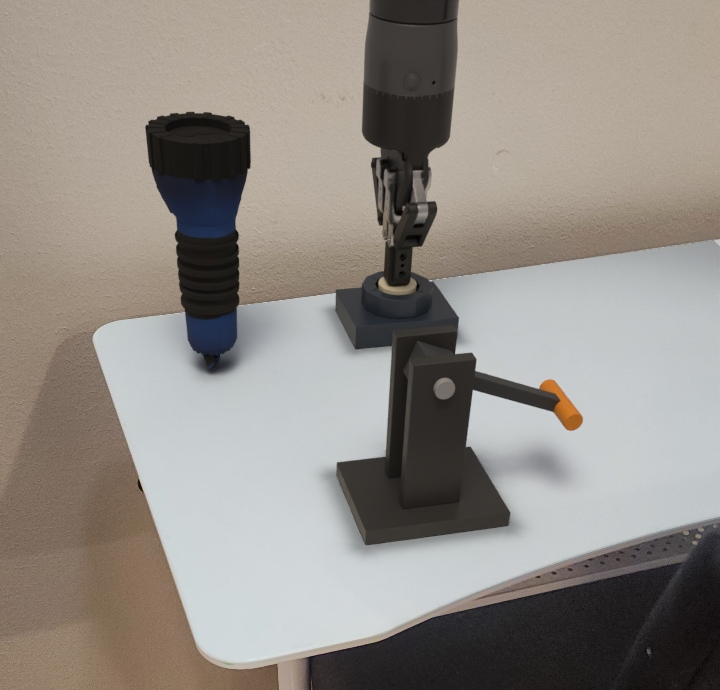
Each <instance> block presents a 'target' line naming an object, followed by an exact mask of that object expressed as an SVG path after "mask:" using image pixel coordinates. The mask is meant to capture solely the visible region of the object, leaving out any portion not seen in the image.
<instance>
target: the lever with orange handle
mask: <svg viewBox="0 0 720 690" xmlns="http://www.w3.org/2000/svg"><path fill="white" fill-rule="evenodd" d="M451 354H453V352H452V351H450V350H447V349H444V348H440V347H437V346H433V345H430V344H426V343H423V342H420V341H417V342H416V344H415V347H414V349H413V351H412V353H411V355H410V357H409V360H410V358H420V357H431V356H441V355H451ZM409 360H408V362H407V364H406V366H405V368H404V371H403V372H404V373H405V375H406V377H407V379H408V373H409ZM473 391H476V392H479V393H483V394H487V395H490V396H493V397H497V398H501V399H504V400H508V401H511V402H515V403H518V404H522V405H526V406H530V407H534V408H537V409H541V410H543V411H544V410H545V411H547V412H552V413H553V414H554V415H555V417H556V418H557V420H558V421H559V422H560V423H561V425H562V426H563V428H564V429H565V430H566V431H569V432H573V431H577V430H578V429H579V428H580V427H581V426H582V425H583V422H584V417H583V415H582V414H581V412H580V411H579V410H578V408H577V407H576V406H575V404H574V403H573V402H572V401H571V400H570V398H569V397H568V396H567V395H566V393H565V392H564V390H563V389H562V387H561V386H560V385H559V384H558V383H557V382H556V380H554V379H549V378H548V379H546V380H544V381H542V382H541V384H540V385H539V387H538V388H537V387H533V386H530V385H526V384H523V383H519V382H516V381H512V380H509V379H506V378H502V377H498V376H495V375H492V374H488V373H484V372H481V371H477V370H475V377H474V385H473Z"/></svg>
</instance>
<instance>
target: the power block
mask: <svg viewBox="0 0 720 690" xmlns="http://www.w3.org/2000/svg"><path fill="white" fill-rule="evenodd" d="M382 277H384V270H383V271H382V270H381V271H377V272H375V273H372V274H370V275H367V276H366V277H365V278H364V280H363V281H362V283H361V287H351V288H349V287H348V288H338V289H335V312H336V315H337V317H338V318H339V321H340V322H341V324H342V326H343V328H344V330H345V331H346V333H347V336H348V337H349V339H350V341H351V343H352V345H353V347H354V349H355V350H356V349H369V348H379V347H388V346H389V347H390V346H392V337H393V330H403V329H414V328H425V327H435V326H446V325H454V327H455V328H456V330H457V331H459V323H460V322H459V321H460V317H459V315H458V314H457V312H456V310H454V308H453V307H452V306H451V304H450V302H449V301H448V300H447V298H446V297H445V295H444V294H443V293H442V291H441V290H440V289H439V287H438V286H437V284H436V283H435V281H430V280H429V279H428V278H427V277H425V276H422V275H421V274H418V273H416V272H413V271H411V278H413V279H414V280H415V281H416V283H417V286H416V292H414V293H411V294H406V295H393V294H386V293H384V292H382V291H380V290H378V282H379V280H380V279H381V278H382ZM457 334H458V332H457Z"/></svg>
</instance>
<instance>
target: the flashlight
mask: <svg viewBox="0 0 720 690" xmlns="http://www.w3.org/2000/svg"><path fill="white" fill-rule="evenodd" d="M147 123H148V124H145V127H144V128H145V137H146V138H145V139H146V147H147V149H146V150H147V156H148V157H147V159H148V164H149V168H151V173H152V177H153V180H154V182H155V185H156V186H155V187H156V189H157V190H158V193H159V195H160V197H161V199H162V200H163V202H164V204H165V206H166V208H167V209H168V211H169V213H170V214H172V215H173V216H174V217H175V220H176V221H175V222H176V230H175V232H174V240H175V241H176V245H175V255H176V256H177V258H176V266H177V269H178V271H177V272H178V273H177V276H178V281H179V282H178V287H179V291H180V293H181V295H180V305H181V306H182V308H183V309H184V317H185V325H186V337H187V341H188V343H189V345H190V347H191V348H192V349H191V350H192V351H194V352H195V353H197V354H198V355H199V354H201V355H202V356H203V360H204V363H205V367H206V368H208V369H209V370H215V369H217V368H218V366H219V364H220V361H221V356H222V355H224V354H226V353H227V352H230V350H231V349H232V348H234V346H235V344H236V343H237V340H238V306H239V305H240V295H239V293H238V292H239V291H240V270H239V268H240V258H239V255H240V246H239V244H238V241H239V240H240V234H239V233H240V232H239V231H238V230H237V226H236V223H237V222H236V221H237V216H238V213H239V209H240V204H241V201H242V195H243V192H244V189H245V185H246V182H247V179H248V170H250V169H251V165H252V164H251V163H252V156H251V155H252V154H251V153H252V152H251V127H250V125H249V124H246V122H245V121H244V120H242V119H236V118H235V116H232V115H222V114H221V115H220V114H213V113H212V112H210V111H209V112H208V111H204V112H197V113H196V112H194V111H186V112H185V113H179V112H173V113H172V112H171V113H169V115H158V116H156V118H155V119H150V120H148V121H147Z"/></svg>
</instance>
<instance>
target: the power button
mask: <svg viewBox="0 0 720 690" xmlns="http://www.w3.org/2000/svg"><path fill="white" fill-rule="evenodd" d="M416 286H417V283H416V281H415V280H414V279H413V278H411V279H410V283H409V284H408V285H405V286H393V287H391V286H389V285H388V283H387V282H386V280H385V278H384V277H382V278H381V279H380V280H379V282H378V290H380V291H382V292H384V293H386V294H393V295H406V294H411V293H414V292H416Z"/></svg>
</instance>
